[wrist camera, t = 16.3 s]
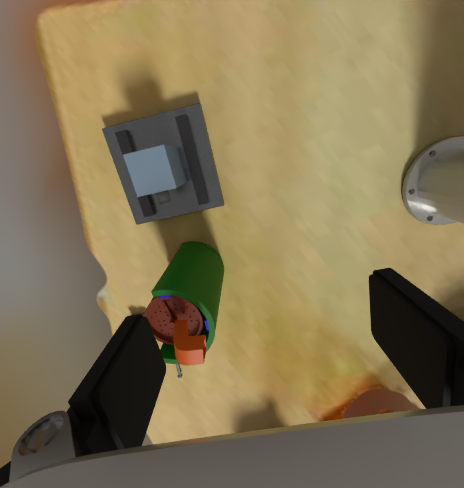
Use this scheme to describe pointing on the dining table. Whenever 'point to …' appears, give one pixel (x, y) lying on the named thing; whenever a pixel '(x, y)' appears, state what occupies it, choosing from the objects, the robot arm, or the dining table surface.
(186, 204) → the mounting bracket
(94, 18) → the dining table surface
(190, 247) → the motor
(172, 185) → the slate grey block
